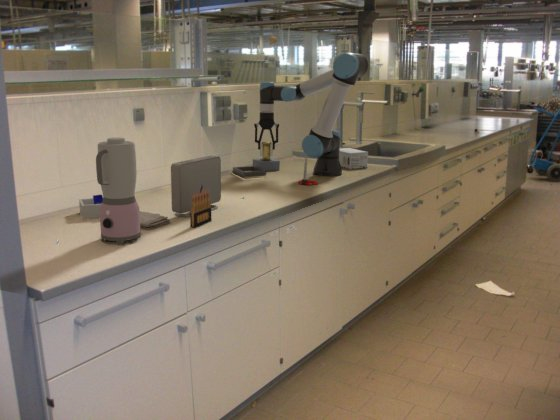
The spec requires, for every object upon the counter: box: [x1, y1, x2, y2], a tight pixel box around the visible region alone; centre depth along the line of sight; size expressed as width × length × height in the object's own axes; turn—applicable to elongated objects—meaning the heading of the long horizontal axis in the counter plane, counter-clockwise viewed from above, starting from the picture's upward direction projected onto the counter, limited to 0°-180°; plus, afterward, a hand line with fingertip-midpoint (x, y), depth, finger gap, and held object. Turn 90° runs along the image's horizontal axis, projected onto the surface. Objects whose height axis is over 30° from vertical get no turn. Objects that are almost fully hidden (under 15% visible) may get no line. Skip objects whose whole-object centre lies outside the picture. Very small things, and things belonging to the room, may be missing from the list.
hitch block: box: [252, 157, 281, 172], centre depth 299 cm, size 11×11×6 cm
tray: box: [232, 165, 267, 179], centre depth 287 cm, size 16×12×3 cm
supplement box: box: [339, 147, 369, 170], centre depth 321 cm, size 17×13×9 cm
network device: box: [170, 155, 222, 218], centre depth 210 cm, size 26×9×20 cm, turn 151°
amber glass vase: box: [261, 141, 272, 161], centre depth 298 cm, size 5×5×14 cm
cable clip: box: [92, 194, 103, 204], centre depth 206 cm, size 12×4×6 cm, turn 47°
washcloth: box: [140, 210, 171, 231], centre depth 195 cm, size 12×18×3 cm, turn 62°
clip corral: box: [78, 197, 101, 220], centre depth 206 cm, size 11×19×5 cm, turn 115°
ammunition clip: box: [189, 189, 213, 229], centre depth 194 cm, size 11×2×12 cm, turn 154°
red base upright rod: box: [297, 157, 319, 186], centre depth 268 cm, size 8×13×9 cm
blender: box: [95, 137, 142, 245], centre depth 171 cm, size 16×12×32 cm
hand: (266, 155), depth 298 cm, fingers closed on amber glass vase, 5 cm apart
